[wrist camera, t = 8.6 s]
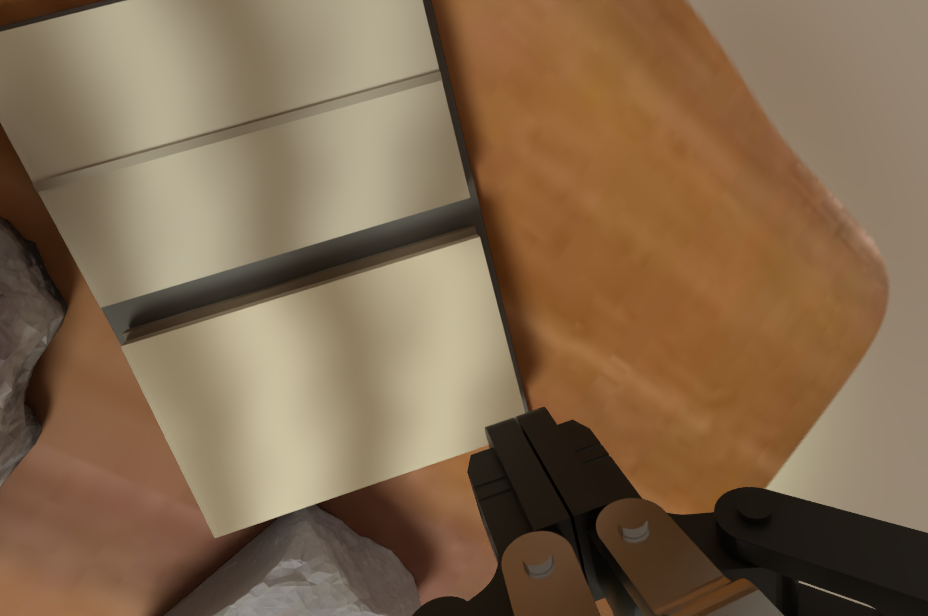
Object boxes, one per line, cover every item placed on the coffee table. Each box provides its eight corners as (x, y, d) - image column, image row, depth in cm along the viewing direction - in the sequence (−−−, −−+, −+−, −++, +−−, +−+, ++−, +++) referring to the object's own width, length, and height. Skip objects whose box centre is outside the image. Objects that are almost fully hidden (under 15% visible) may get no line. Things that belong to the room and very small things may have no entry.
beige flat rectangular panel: (219, 520, 27) (214, 538, 26) (127, 329, 24) (116, 339, 23) (522, 418, 28) (529, 430, 27) (471, 224, 25) (478, 229, 24)
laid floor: (221, 525, 28) (216, 550, 27) (-40, 37, 20) (-69, 35, 18) (529, 420, 30) (540, 438, 28) (411, -75, 21) (418, -85, 20)
